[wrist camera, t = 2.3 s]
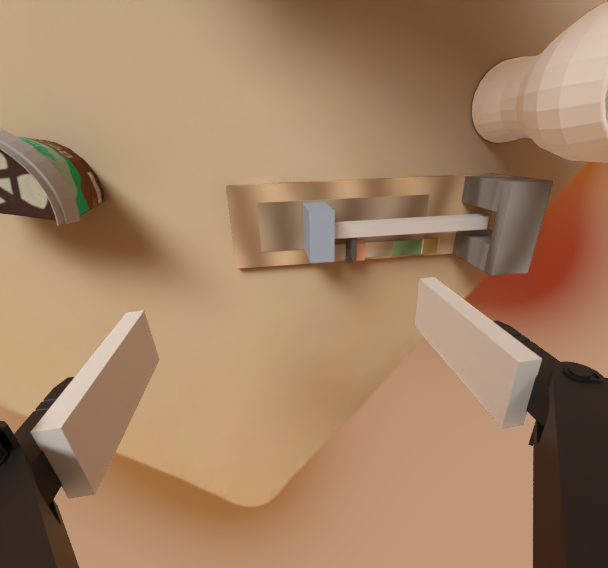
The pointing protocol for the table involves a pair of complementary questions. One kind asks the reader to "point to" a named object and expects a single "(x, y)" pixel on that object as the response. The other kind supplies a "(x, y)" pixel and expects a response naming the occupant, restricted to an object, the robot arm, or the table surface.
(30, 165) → the food container
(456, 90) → the table surface
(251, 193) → the gauge bed
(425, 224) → the grey hammer
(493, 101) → the cup
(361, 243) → the orange small block
